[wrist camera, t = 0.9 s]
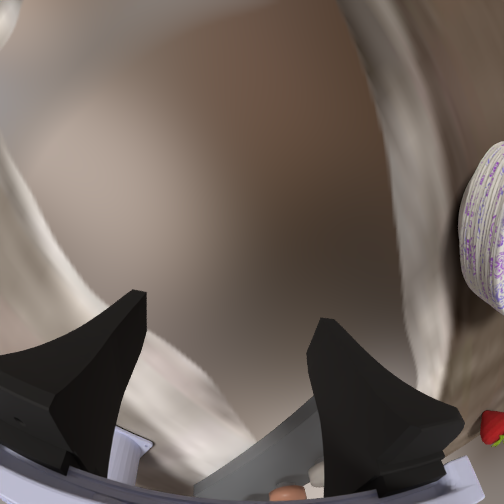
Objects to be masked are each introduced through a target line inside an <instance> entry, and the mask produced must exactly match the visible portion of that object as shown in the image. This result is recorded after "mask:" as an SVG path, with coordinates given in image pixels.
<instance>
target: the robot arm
mask: <svg viewBox="0 0 504 504" xmlns="http://www.w3.org/2000/svg"><path fill="white" fill-rule="evenodd" d="M146 295H147V293H146V292H143V291H138V290H132V291H130V292H128V293H127V294H126V295H124V296H123V297H122V298H121V299H119V300H118V301H117V302H115V303H114V304H113V305H111V306H110V307H109V308H107V309H106V310H105V311H103V312H102V313H101V314H99V315H98V316H96V317H95V318H93V319H92V320H90V321H89V322H87V323H86V324H84V325H82V326H81V327H79V328H77V329H75V330H74V331H72V332H70V333H68V334H66V335H64V336H62V337H59V338H57V339H55V340H52V341H50V342H47V343H45V344H42V345H40V346H37V347H34V348H30V349H27V350H23V351H20V352H15V353H10V354H5V355H0V499H1V500H3V501H4V502H6V503H8V504H476V503H478V502H480V501H481V500H483V499H484V497H485V495H484V493H483V490H482V488H481V486H480V484H479V481H478V479H477V477H476V474H475V472H474V470H473V467H472V465H471V463H470V461H469V459H468V457H467V456H466V455H465V456H463V457H460V458H458V459H455V460H452V461H450V462H448V463H446V464H444V465H443V464H442V461H441V460H442V459H443V458H444V457H445V455H444V453H443V449H444V448H446V447H447V446H448V445H449V444H450V443H451V442H452V441H453V440H454V439H455V438H456V437H457V436H458V435H459V434H460V433H461V431H462V430H463V428H464V424H465V422H464V420H463V418H462V416H461V414H460V413H459V411H458V409H457V408H456V407H454V406H451V405H449V404H446V403H443V402H441V401H438V400H436V399H434V398H432V397H430V396H428V395H425V394H423V393H422V392H420V391H418V390H416V389H414V388H413V387H411V386H410V385H408V384H406V383H405V382H403V381H402V380H400V379H399V378H397V377H396V376H395V375H393V374H392V373H391V372H389V371H388V370H387V369H385V368H384V367H383V366H382V365H381V364H380V363H378V362H377V361H376V360H375V359H374V358H373V357H371V356H370V355H369V354H368V353H367V352H366V351H365V350H364V349H363V348H362V347H361V346H360V345H359V344H358V343H357V342H356V341H355V340H354V339H353V338H352V337H351V336H350V335H349V334H348V333H347V331H346V330H344V328H343V327H341V326H340V325H339V323H337V322H336V321H335V320H334V319H328V318H320V321H319V323H318V326H317V328H316V331H315V333H314V336H313V339H312V341H311V343H310V345H309V348H308V350H307V353H306V354H307V365H308V373H309V378H310V381H311V386H312V390H313V394H314V398H315V401H316V405H317V409H318V413H319V418H320V424H321V432H322V442H323V456H324V498H317V499H305V500H290V501H234V500H219V499H208V498H199V497H191V496H183V495H177V494H171V493H165V492H160V491H155V490H150V489H145V488H141V487H137V486H135V483H136V477H137V471H138V465H139V460H140V458H141V457H142V456H143V455H144V454H145V453H146V452H147V451H148V450H149V449H150V448H151V447H152V446H153V443H152V442H151V441H149V440H146V439H144V438H142V437H139V436H137V435H135V434H132V433H130V432H128V431H126V430H124V429H121V428H119V427H117V426H116V422H117V417H118V413H119V409H120V405H121V401H122V398H123V395H124V392H125V390H126V387H127V385H128V382H129V380H130V377H131V375H132V372H133V370H134V367H135V365H136V363H137V360H138V358H139V355H140V353H141V350H142V347H143V343H144V339H145V336H146V332H147V319H146V317H147V316H146V315H147V310H146V307H147V302H146V301H147V300H146V299H147V297H146Z"/></svg>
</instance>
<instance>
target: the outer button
mask: <svg viewBox="0 0 504 504" xmlns="http://www.w3.org/2000/svg"><path fill="white" fill-rule="evenodd" d="M308 475H309V479H310V483H311V485H312V486H314V487H324V457H321V458H319V459H318V460H316V461H315V465H314V466H313V467H311V468H310V469H309V471H308Z"/></svg>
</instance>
